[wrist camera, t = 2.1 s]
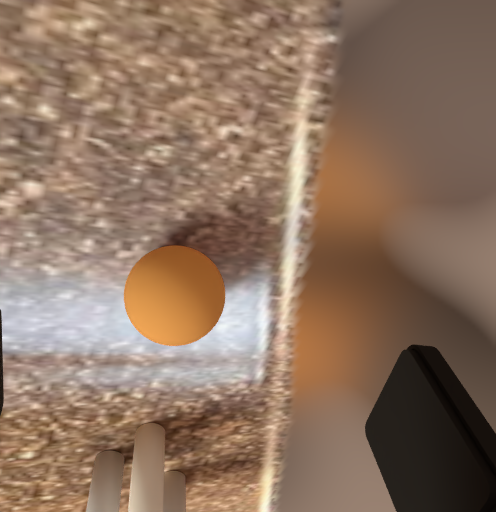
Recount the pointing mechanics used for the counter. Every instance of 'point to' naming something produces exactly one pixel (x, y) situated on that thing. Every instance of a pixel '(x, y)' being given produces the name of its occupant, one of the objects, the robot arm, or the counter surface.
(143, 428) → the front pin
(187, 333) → the ball
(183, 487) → the pin
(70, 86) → the counter surface
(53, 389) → the counter surface
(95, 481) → the pin
